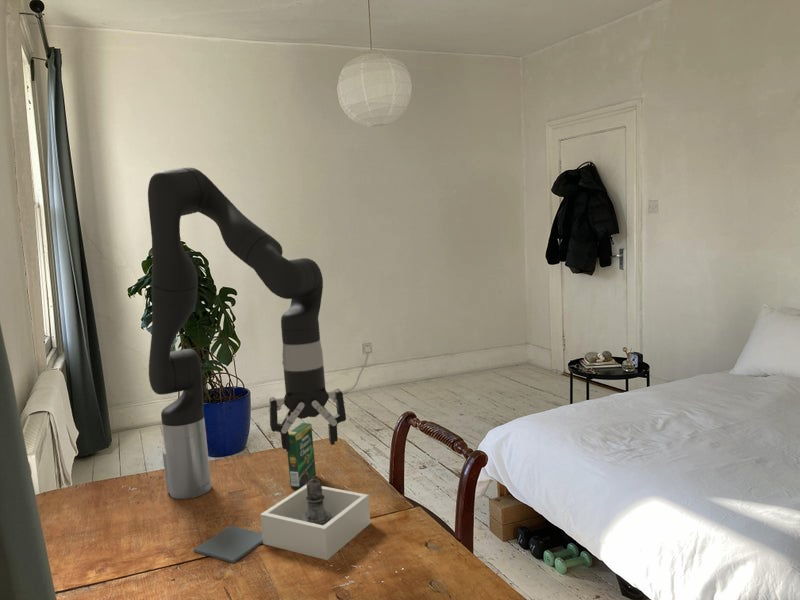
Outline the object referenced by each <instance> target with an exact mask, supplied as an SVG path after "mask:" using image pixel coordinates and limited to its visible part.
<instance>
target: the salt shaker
mask: <svg viewBox="0 0 800 600" xmlns="http://www.w3.org/2000/svg"><path fill="white" fill-rule="evenodd" d="M306 484H307V497H306V501H308V512H306V513H305V514H304V515H303V516H302V520H301V521H306V522H310V523H315V524H319V525H325V524H326V523H327V522H329V521H330V520H331V519H332V518H331V516H332V514H331V512H329V511H328V510H325V509H324V505H323V499H324V495H322V486H323V485H322V481H321V480H319V478H316V475H315V476H314V475H313V476H312V479H311V480H309V481H308V482H307V483H306Z"/></svg>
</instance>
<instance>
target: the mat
mask: <svg viewBox="0 0 800 600" xmlns="http://www.w3.org/2000/svg"><path fill="white" fill-rule="evenodd" d="M261 544H263V537H262V532H259V531H255V530H250V529H246V528H243V527H239V526H234V525H230V526H228V527H227V528H225V529H224V530H222V531H220V532H219V533H217V534H216V535H214V536H213V537H211V538H209V539H207V540H206V541H205V542H203V543H201V544H200V545H199V546H196V547H195V548H194V549H193V552H194V553H197V554H200V555H205V556H208V557H211V558H215V559H218V560H223V561H225V562H229V563H233V564H234V563H236V562H237V561H238V560H240V559H241V558H243V557H245V555H247V554H248V553H250V552H251V551H252V550H254V549H256V548H257V547H258V546H259V545H261Z"/></svg>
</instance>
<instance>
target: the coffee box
mask: <svg viewBox="0 0 800 600" xmlns="http://www.w3.org/2000/svg"><path fill="white" fill-rule="evenodd" d="M288 432H289V441H290V452H286V453H287V462H288V472H289V473H288V474H289V484H290V488H291V489H292V488H294V489H300V488H302V487H303V486H305V485H306V484H307V482H308V481H309V480H311V479H312V476H313V475H314V476H315V477H316V475H317V471H316V461H315V460H316V458H315V450H314V449H315V448H314V439H313V429H312V423H307V422H302V423H300V424H299V425H298V426H296V427H295V428H294V429H292V430H290V431H288Z"/></svg>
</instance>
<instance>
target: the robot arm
mask: <svg viewBox="0 0 800 600" xmlns="http://www.w3.org/2000/svg"><path fill="white" fill-rule="evenodd" d="M148 182H149V183H148V188H147V203H148V205H147V206H148V213H149V224H150V231H151V232H150V233H151V234H150V235H151V257H152V258H151V259H152V260H151V262H152V265H151V266H152V269H151V339H150V348H149V357H148V359H149V360H148V379H149V380H148V381H149V384H150V388H151V389H152V391H153V393H155V394H157V395H161V396H162V395H163V396H164V395H169V394H173V393H178V392H179V393H180V392H182V393H181V394H180V396H179V397H177V399H175V400H174V401H173V402H172V403H170V404H168V405H167V406H166V407H164V408H162V411H161V413H160V414H161V416H160V417H161V419H160V420H161V426H162V427H161V428H162V434H163V443H164V452H163V454H162V459H163V468H164V477H165V486H166V493H168V494H170V496H171V498H173V499H177V500H179V499H180V500H186V499H194V498H196V497H198V498H199V497H200V496H203V495H205V494H207V493H208V492H210V491H211V489H212V480H211V479H212V478H211V471H210V469H211V468H210V459H209V450H208V442H207V431H206V423H205V422H206V421H205V413H204V412H205V410H204V407H205V405H204V388H203V386H204V385H203V369H202V363H201V359H200V356H199V354H198V352H197V351H196V350H195V349H193V348H185V349H180V350H178V349H177V350H173V351H171V350H172V347H173V343H174V341H175V338H176V337H177V335H178V333H179V332H180V331H181V330H182V328H183V327H184V325H185V324H186V322H187V321H188V319H189V318H190V316H191V315H192V313H193V312H194V310H195V308H196V305H197V302H198V301H197V300H198V290H199V289H198V286H199V285H198V283H199V279H198V278H199V277H198V272H197V269H196V267H195V265H194V263H193V261H192V259H191V258H190V256H189V255H188V254H187V252H186V250H185V248H184V247H183V244H182V241H181V232H180V231H181V230H180V229H181V227H180V226H181V218H182V217H183V216H188V215H192V214H195V213H200V214H202V215H203V216H206V217H208V218H209V219H211V220H212V221H213V222H214V223H215V224H216V226H218V230H219V232H220V235H221V237H222V240H223V242H224V244H225V246H226V247H227V248H228V250H229V251H231V253H233V254H234V255H235V257H237V258H238V259H240V260H241V261H242V262H243V263H244V264H246V265H247V266H249V267H250V268H251V269H253V270H254V271H255V273H256V275H257V276H258V277H259V279H260V280H261V281H262V282H263V284H264V285H265V286H266V288H267V289H268V290H269V291H270V292H271V293H272V294H274V295H275V296H277V297H279V298H281V299H285V300H291V301H290V302H291V303H290V307H289V309H288V310H286V311H285V312H283V314H282V315H281V318H280V329H281V338H282V340H281V341H282V354H281V355H282V366H283V376H284V377H283V379H284V388H285V390H284V391H285V394H284V397H283V398H275V397H273V396H272V397H270V398H269V426H270V427H269V428H270V430H271V431H272V432H277V433H280V441H281V442H280V443H281V447H282V449H283V450H285V451H286V453H287V452H290V441H289V432H290V431H289V430H290V428H291V427H292V425H293V424H294V423H295V421H296V420H297V418H298V419H300V420H304V419H306V418H316V417H317V416H319V415H321V416H322V417H323V418H324V419H325V421H327V422H328V424H327V426H328V427H327V429H328V439H329V440H328V441H329V444H330V446H335V445H336V442H338V439H339V438H338V424H339V423H342V422H345V421H346V420H347V415H346V408H345V401H344V395H343V392H342V391H341V389H339V388H335V390H333V391H327V390H326V379H325V367H324V355H323V354H324V353H323V348H322V344H321V334H320V332H321V331H320V322H319V316H320V310H321V304H322V297H323V288H324V280H323V279H324V278H323V273H322V271H321V268H320V266H319V264H318V263H317V262H316V261H315V260H313V259H311V258H308V257H306V258H305V257H302V258H296V259H287V258H286V257H284V256H283V247H282V244H280V242H279V241H277V239H275V238H274V237H272V235H270V234H269V233H267V232H266V231H265V230H263V229H262V228H261V227H259V226H258V225H257V224H256V223H254V222H253V221H252V220H250V219H249V218H248V217H247V216H245V215H244V213H242V212H241V211H240V210H239V209H238V208H237V207H236V206H235V204H234V203H233V202H232V201H231V200H230V199H229V198H228V197H227V196H226V195H225V194H224V193H223V192H222V190H220V189H219V188H218V186H217V185H216V184H214V183H213V181H212V180H211V179H210V178H209V177H207V175H206V174H205V173H203V172H202V171H200V170H199V169H197V168H195V167H188V166H187V167H180V168H173V169H166V170H160V171H157V172H155V173H154V174H153V175H152V176H151V177H150V179H149V181H148ZM329 399H331V401H332V402H333V403H335V406H336V413H337V414H335V415H333V414H331V412H329V410H328V409H327V408H326V407H325V406H326V404H327V402H328V401H329ZM283 405H284V406H285V407H286V408H287V409H288V411H287V413H285V414H286V415H285V417H284V419H283V420H282V421H281V423H280V422H279V423H278V411H280V410H281V409H282V406H283Z"/></svg>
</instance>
